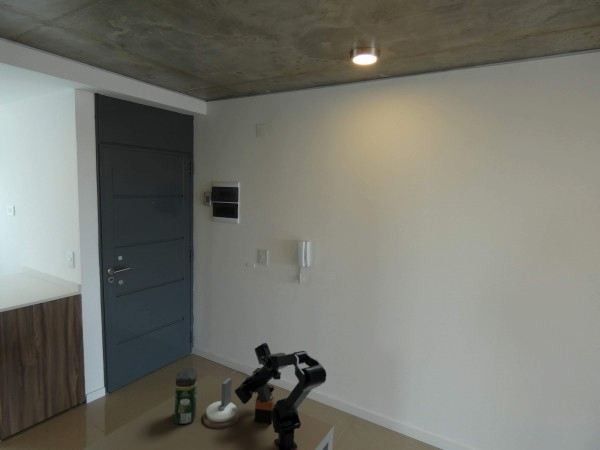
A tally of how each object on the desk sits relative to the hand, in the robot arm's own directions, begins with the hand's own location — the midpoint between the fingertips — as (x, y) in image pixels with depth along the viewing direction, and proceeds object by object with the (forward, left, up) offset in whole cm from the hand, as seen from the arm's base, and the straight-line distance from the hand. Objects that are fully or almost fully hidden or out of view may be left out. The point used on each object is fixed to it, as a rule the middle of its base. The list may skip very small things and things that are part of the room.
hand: (237, 395), depth 142 cm
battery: (-8, -8, -8) cm, 14 cm away
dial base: (0, +7, -7) cm, 10 cm away
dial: (0, +6, -6) cm, 9 cm away
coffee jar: (+5, +20, -8) cm, 22 cm away
